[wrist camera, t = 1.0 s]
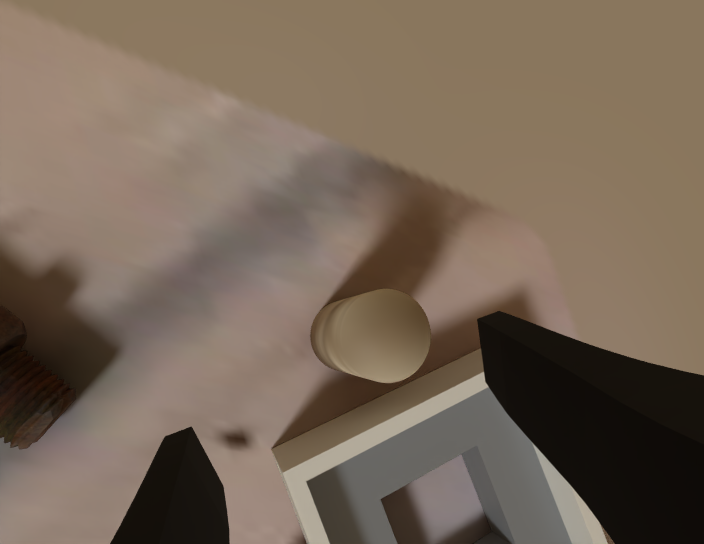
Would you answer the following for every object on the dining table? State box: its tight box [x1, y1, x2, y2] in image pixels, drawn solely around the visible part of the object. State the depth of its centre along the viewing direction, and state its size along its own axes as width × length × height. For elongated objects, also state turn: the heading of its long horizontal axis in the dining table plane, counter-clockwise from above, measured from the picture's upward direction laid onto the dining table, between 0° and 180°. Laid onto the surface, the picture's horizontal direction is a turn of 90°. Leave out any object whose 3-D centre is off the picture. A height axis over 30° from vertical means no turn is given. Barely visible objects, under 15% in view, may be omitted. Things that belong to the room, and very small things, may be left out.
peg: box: [310, 289, 431, 383], centre depth 23 cm, size 4×4×7 cm
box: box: [271, 348, 608, 544], centre depth 25 cm, size 14×14×4 cm
